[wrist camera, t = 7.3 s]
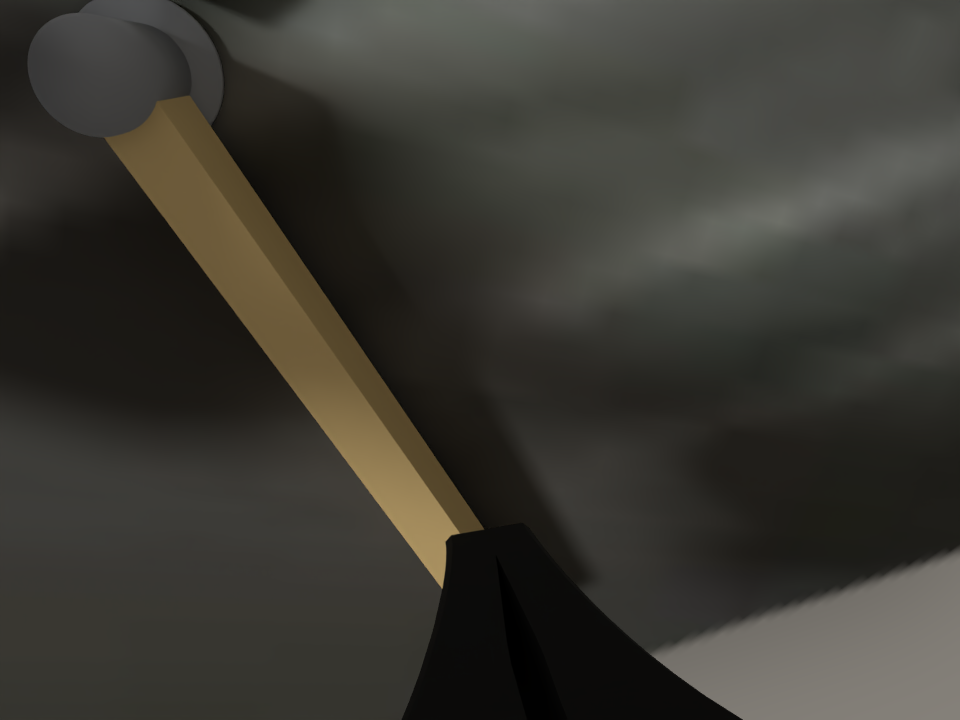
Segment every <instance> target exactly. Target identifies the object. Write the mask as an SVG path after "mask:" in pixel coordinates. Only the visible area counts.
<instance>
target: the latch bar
mask: <svg viewBox="0 0 960 720" xmlns="http://www.w3.org/2000/svg"><path fill="white" fill-rule="evenodd" d="M28 74H29V79H30V83H31V85H32V88H33V90H34V93H35V95H36V96H37V98H38V100H39V101H40V103H41V104H42V106H43V107H44V108H45V109H46V111H47V112H48V113H49V114H50V115H51V116H52V117H53V118H54V119H55V120H57V121H58V122H59V123H61V124H62V125H64V126H65V127H67V128H69V129H71V130H73V131H75V132H77V133H80V134H83V135H87V136H92V137H104V139H105V140H106V141H107V143H108V144H109V145H110V147H111V148H112V149H113V151H114V152H115V153H116V155H117V156H118V157H119V159H120V160H121V161H122V163H123V164H124V165H125V167H126V168H127V169H128V171H129V172H130V173H131V175H132V176H133V177H134V179H135V180H136V181H137V182H138V184H139V185H140V186H141V188H142V189H143V190H144V192H145V193H146V194H147V196H148V197H149V198H150V200H151V201H152V202H153V204H154V205H155V206H156V208H157V209H158V210H159V212H160V213H161V214H162V216H163V217H164V218H165V220H166V221H167V222H168V224H169V225H170V226H171V228H172V229H173V230H174V232H175V233H176V234H177V236H178V237H179V238H180V240H181V241H182V242H183V244H184V245H185V246H186V248H187V249H188V250H189V252H190V253H191V254H192V256H193V257H194V258H195V260H196V261H197V262H198V264H199V265H200V266H201V268H202V269H203V270H204V272H205V273H206V274H207V276H208V277H209V278H210V280H211V281H212V282H213V284H214V285H215V286H216V288H217V289H218V290H219V292H220V293H221V294H222V296H223V297H224V298H225V300H226V301H227V302H228V304H229V305H230V306H231V308H232V309H233V310H234V312H235V313H236V314H237V316H238V317H239V318H240V320H241V321H242V322H243V324H244V325H245V326H246V328H247V329H248V330H249V332H250V333H251V334H252V336H253V337H254V338H255V340H256V341H257V342H258V344H259V345H260V346H261V348H262V349H263V350H264V352H265V353H266V354H267V356H268V357H269V358H270V360H271V361H272V362H273V364H274V365H275V366H276V368H277V369H278V370H279V372H280V373H281V374H282V376H283V377H284V378H285V380H286V381H287V382H288V384H289V385H290V386H291V388H292V389H293V390H294V392H295V393H296V394H297V396H298V397H299V398H300V400H301V401H302V402H303V404H304V405H305V406H306V408H307V409H308V410H309V412H310V413H311V414H312V416H313V417H314V418H315V420H316V421H317V422H318V424H319V425H320V426H321V428H322V429H323V430H324V432H325V433H326V434H327V436H328V437H329V438H330V440H331V441H332V442H333V444H334V445H335V446H336V448H337V449H338V450H339V452H340V453H341V454H342V456H343V457H344V458H345V460H346V461H347V462H348V464H349V465H350V466H351V468H352V469H353V470H354V472H355V473H356V474H357V476H358V477H359V478H360V480H361V481H362V482H363V484H364V485H365V486H366V488H367V489H368V490H369V492H370V493H371V494H372V496H373V497H374V498H375V500H376V501H377V502H378V504H379V505H380V506H381V508H382V509H383V510H384V512H385V513H386V514H387V516H388V517H389V518H390V520H391V521H392V522H393V524H394V525H395V526H396V528H397V529H398V530H399V532H400V533H401V534H402V536H403V537H404V538H405V540H406V541H407V542H408V544H409V545H410V546H411V548H412V549H413V550H414V552H415V553H416V554H417V556H418V557H419V558H420V560H421V561H422V562H423V564H424V565H425V566H426V568H427V569H428V570H429V572H430V573H431V574H432V576H433V577H434V578H435V580H436V581H437V582H438V584H439V585H440V586H441V588H443V582H444V575H445V567H446V543H445V542H446V541H447V539H448V538H449V537H450V536H451V535H455V534H461V533H466V532H472V531H478V530H484V528H483V527H482V525H481V524H480V522H479V521H478V519H477V518H476V516H475V515H474V513H473V512H472V510H471V509H470V508H469V506H468V505H467V503H466V502H465V500H464V499H463V497H462V496H461V494H460V493H459V491H458V490H457V488H456V487H455V485H454V484H453V482H452V481H451V480H450V478H449V477H448V475H447V474H446V472H445V471H444V469H443V468H442V466H441V465H440V463H439V462H438V460H437V459H436V457H435V456H434V455H433V453H432V452H431V450H430V449H429V447H428V446H427V444H426V443H425V441H424V440H423V438H422V437H421V435H420V434H419V432H418V431H417V429H416V428H415V427H414V425H413V424H412V422H411V421H410V419H409V418H408V416H407V415H406V413H405V412H404V410H403V409H402V407H401V406H400V404H399V403H398V401H397V400H396V399H395V397H394V396H393V394H392V393H391V391H390V390H389V388H388V387H387V385H386V384H385V382H384V381H383V379H382V378H381V376H380V375H379V374H378V372H377V371H376V369H375V368H374V366H373V365H372V363H371V362H370V360H369V359H368V357H367V356H366V354H365V353H364V351H363V350H362V348H361V347H360V346H359V344H358V343H357V341H356V340H355V338H354V337H353V335H352V334H351V332H350V331H349V329H348V328H347V326H346V325H345V323H344V322H343V321H342V319H341V318H340V316H339V315H338V313H337V312H336V310H335V309H334V307H333V306H332V304H331V303H330V301H329V300H328V298H327V297H326V295H325V294H324V293H323V291H322V290H321V288H320V287H319V285H318V284H317V282H316V281H315V279H314V278H313V276H312V275H311V273H310V272H309V270H308V269H307V268H306V266H305V265H304V263H303V262H302V260H301V259H300V257H299V256H298V254H297V253H296V251H295V250H294V248H293V247H292V245H291V244H290V242H289V241H288V240H287V238H286V237H285V235H284V234H283V232H282V231H281V229H280V228H279V226H278V225H277V223H276V222H275V220H274V219H273V217H272V216H271V214H270V213H269V212H268V210H267V209H266V207H265V206H264V204H263V203H262V201H261V200H260V198H259V197H258V195H257V194H256V192H255V191H254V189H253V188H252V187H251V185H250V184H249V182H248V181H247V179H246V178H245V176H244V175H243V173H242V172H241V170H240V169H239V167H238V166H237V164H236V163H235V161H234V160H233V159H232V157H231V156H230V154H229V153H228V151H227V150H226V148H225V147H224V145H223V144H222V142H221V141H220V139H219V138H218V136H217V135H216V134H215V132H214V131H213V129H212V128H211V126H210V125H209V123H208V122H207V120H206V119H205V117H204V116H203V114H202V113H201V111H200V110H199V108H198V107H197V106H196V104H195V103H194V101H193V100H192V98H191V97H190V92H191V84H192V80H191V72H190V68H189V64H188V62H187V59H186V57H185V55H184V54H183V52H182V50H181V49H180V47H179V46H178V45H177V44H176V43H175V42H174V40H173V39H172V38H170V37H169V36H168V35H167V34H165V33H164V32H162V31H161V30H159V29H157V28H155V27H153V26H150V25H147V24H143V23H138V22H132V21H127V20H121V19H115V18H110V17H104V16H99V15H93V14H87V13H70V14H64V15H61V16H58V17H56V18H54V19H52V20H50V21H49V22H47V23H46V24H44V25H43V26H42V27H41V28H40V29H39V30H38V32H37V33H36V35H35V36H34V38H33V40H32V42H31V45H30V48H29V52H28Z"/></svg>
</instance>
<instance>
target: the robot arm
mask: <svg viewBox="0 0 960 720" xmlns="http://www.w3.org/2000/svg"><path fill="white" fill-rule="evenodd" d="M445 543H446V567H445V575H444V582H443V588H442V594H441V598H440V603H439V607H438V611H437V616H436V620H435V625H434V628H433V632H432V635H431V639H430V642H429V645H428V648H427V652H426V655H425V658H424V661H423V665H422V668H421V671H420V674H419V677H418V679H417V682H416V685H415V688H414V690H413V693H412V696H411V698H410V701H409V703H408V706H407V708H406V710H405V713H404V715H403V718H402V720H743V719H741V718H739V717H738V716H736V715H735V714H733V713H731V712H730V711H728V710H727V709H725V708H724V707H722V706H720V705H719V704H717V703H716V702H714V701H713V700H711V699H709V698H708V697H706V696H705V695H703V694H702V693H700V692H699V691H698V690H696V689H695V688H694V687H692V686H691V685H689V684H688V683H687V682H685V681H684V680H682V679H681V678H680V677H678V676H677V675H676V674H674V673H673V672H672V671H670V670H669V669H668V668H666V667H665V666H664V665H663V664H661V663H660V662H659V661H658V660H656V659H655V658H654V657H652V656H651V655H650V654H649V653H648V652H646V651H645V650H644V649H643V648H642V647H640V646H639V645H638V644H637V643H636V642H635V641H633V640H632V639H631V638H630V637H629V636H628V635H627V634H625V633H624V632H623V631H622V630H621V629H620V628H619V627H618V626H617V625H616V624H615V623H613V622H612V621H611V620H610V619H609V618H608V617H607V616H606V615H605V614H604V613H603V612H602V611H601V610H600V609H599V608H598V607H597V606H596V605H595V604H594V603H593V602H592V601H591V600H590V599H589V598H588V597H587V596H586V595H585V594H584V593H583V592H582V591H581V590H580V589H579V588H578V587H577V586H576V585H575V583H574V582H573V581H572V580H571V579H570V578H569V577H568V576H567V575H566V574H565V573H564V571H563V570H562V569H561V568H560V567H559V566H558V564H557V563H556V562H555V561H554V560H553V559H552V557H551V556H550V555H549V554H548V552H547V551H546V550H545V549H544V547H543V546H542V545H541V544H540V542H539V541H538V540H537V538H536V537H535V536H534V534H533V533H532V531H531V530H530V528H529V527H527V526H526V525H525V524H523V523H519V524H513V525H507V526H501V527H496V528H490V529H484V530H478V531H472V532H466V533H461V534H455V535H451V536H450V537H449V538H448V539H447V541H446V542H445Z"/></svg>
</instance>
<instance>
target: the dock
mask: <svg viewBox="0 0 960 720" xmlns="http://www.w3.org/2000/svg"><path fill="white" fill-rule="evenodd" d="M78 13H87V14H93V15H99V16H104V17H110V18H115V19H121V20H127V21H132V22H138V23H143V24H147V25H150V26H153V27H155V28H157V29H159V30H161V31H162V32H164V33H165V34H167V35H168V36H169V37H170V38H172V39H173V40H174V42H175V43H176V44H177V45H178V46H179V47H180V49H181V50H182V52H183V54H184V55H185V57H186V59H187V62H188V64H189V68H190V72H191V80H192V84H191V92H190V97H191V98H192V100H193V101H194V103H195V104H196V106H197V107H198V108H199V110H200V111H201V113H202V114H203V116H204V117H205V119H206V120H207V122H208V123H209V125H210V126H211V125H212V124H213V122H214V121H215V119H216V117H217V115H218V113H219V111H220V108H221V105H222V101H223V96H224V73H223V68H222V63H221V60H220V57H219V54H218V51H217V49H216V47H215V45H214V43H213V41H212V40H211V38H210V36H209V35H208V33H207V32H206V31H205V29H204V28H203V27H202V25H201V24H200V23H199V22H198V21H197V20H196V19H195V18H194V17H193V16H192V15H191V14H189V13H188V12H187V11H186V10H185V9H183V8H181V7H180V6H178V5H177V4H175V3H173V2H171V1H169V0H92V1H91V2H89V3H88V4H87V5H85V6H84V7H83V8H82V9H81V10H80V11H79V12H78Z"/></svg>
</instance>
